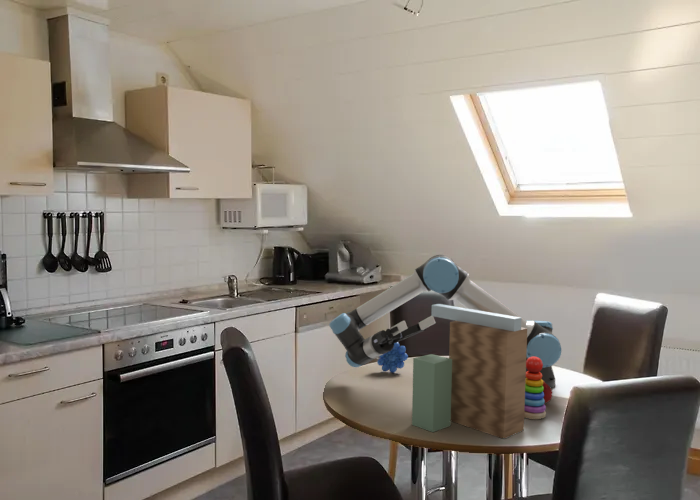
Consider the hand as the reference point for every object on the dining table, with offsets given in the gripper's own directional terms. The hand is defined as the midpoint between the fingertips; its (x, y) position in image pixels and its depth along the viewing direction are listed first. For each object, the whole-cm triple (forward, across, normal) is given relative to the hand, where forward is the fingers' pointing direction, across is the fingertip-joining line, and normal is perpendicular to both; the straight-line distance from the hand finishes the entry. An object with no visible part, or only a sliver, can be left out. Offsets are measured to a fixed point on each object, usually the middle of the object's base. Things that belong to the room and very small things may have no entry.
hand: (420, 321), depth 207 cm
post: (0, +12, -31) cm, 34 cm away
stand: (+9, 0, -36) cm, 37 cm away
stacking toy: (+13, -18, -39) cm, 45 cm away
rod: (+20, 0, -8) cm, 21 cm away
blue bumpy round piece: (-41, -21, -8) cm, 47 cm away
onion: (+10, -31, -37) cm, 49 cm away
